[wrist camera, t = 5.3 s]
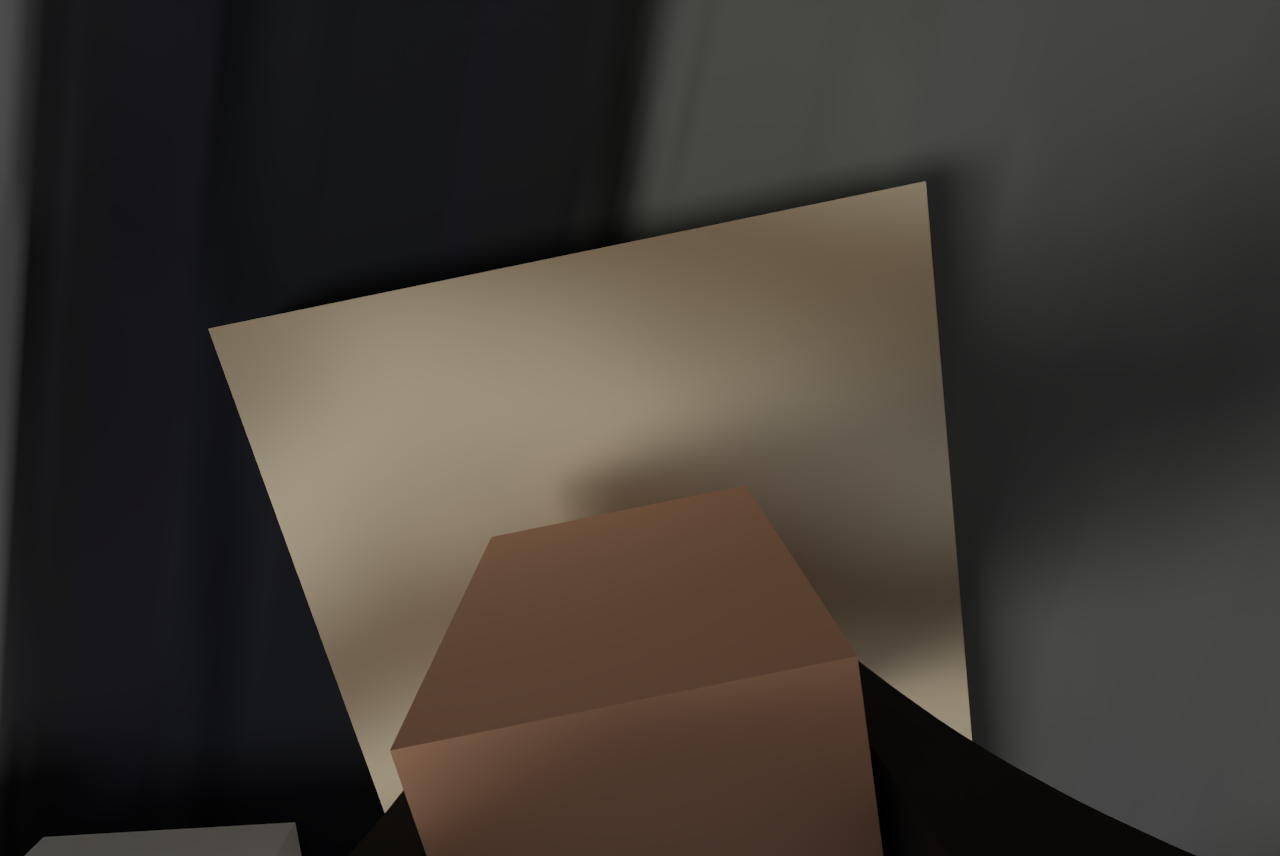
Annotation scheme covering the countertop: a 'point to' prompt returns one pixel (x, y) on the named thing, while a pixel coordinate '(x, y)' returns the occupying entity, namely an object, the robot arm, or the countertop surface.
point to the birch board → (618, 432)
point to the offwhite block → (179, 842)
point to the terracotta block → (642, 697)
